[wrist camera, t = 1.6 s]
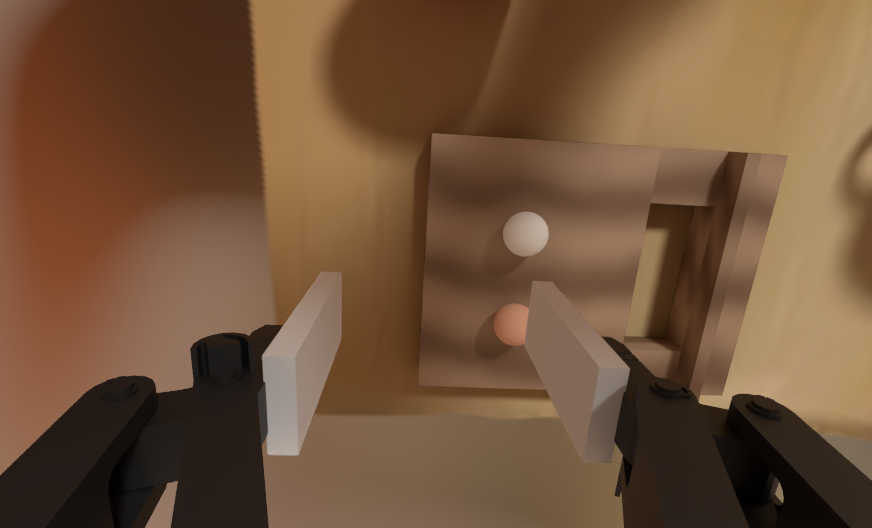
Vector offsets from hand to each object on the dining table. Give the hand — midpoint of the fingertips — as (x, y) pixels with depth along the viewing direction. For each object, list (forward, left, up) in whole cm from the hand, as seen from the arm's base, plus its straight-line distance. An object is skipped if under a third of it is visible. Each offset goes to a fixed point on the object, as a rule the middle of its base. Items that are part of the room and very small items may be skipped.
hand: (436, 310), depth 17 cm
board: (+4, +13, -19) cm, 23 cm away
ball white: (0, +7, -15) cm, 17 cm away
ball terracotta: (+7, +7, -15) cm, 18 cm away
